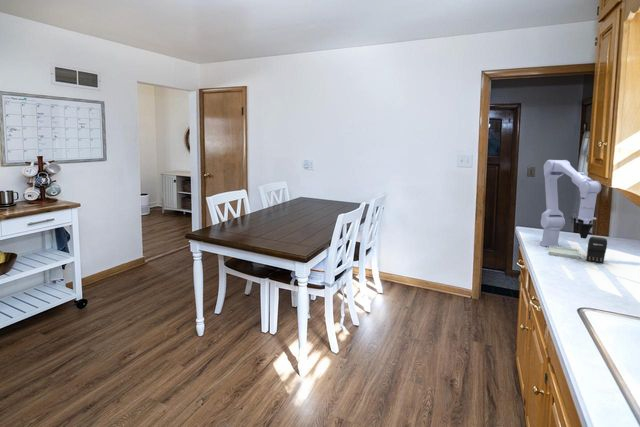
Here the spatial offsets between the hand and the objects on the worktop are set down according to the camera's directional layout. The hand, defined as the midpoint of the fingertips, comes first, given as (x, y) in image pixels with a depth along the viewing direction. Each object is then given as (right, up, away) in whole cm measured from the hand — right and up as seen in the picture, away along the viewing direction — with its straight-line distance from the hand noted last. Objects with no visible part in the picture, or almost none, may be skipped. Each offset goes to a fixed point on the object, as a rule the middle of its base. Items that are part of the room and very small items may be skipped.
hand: (582, 236), depth 183 cm
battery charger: (+4, -12, -3) cm, 12 cm away
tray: (-3, -9, +9) cm, 13 cm away
